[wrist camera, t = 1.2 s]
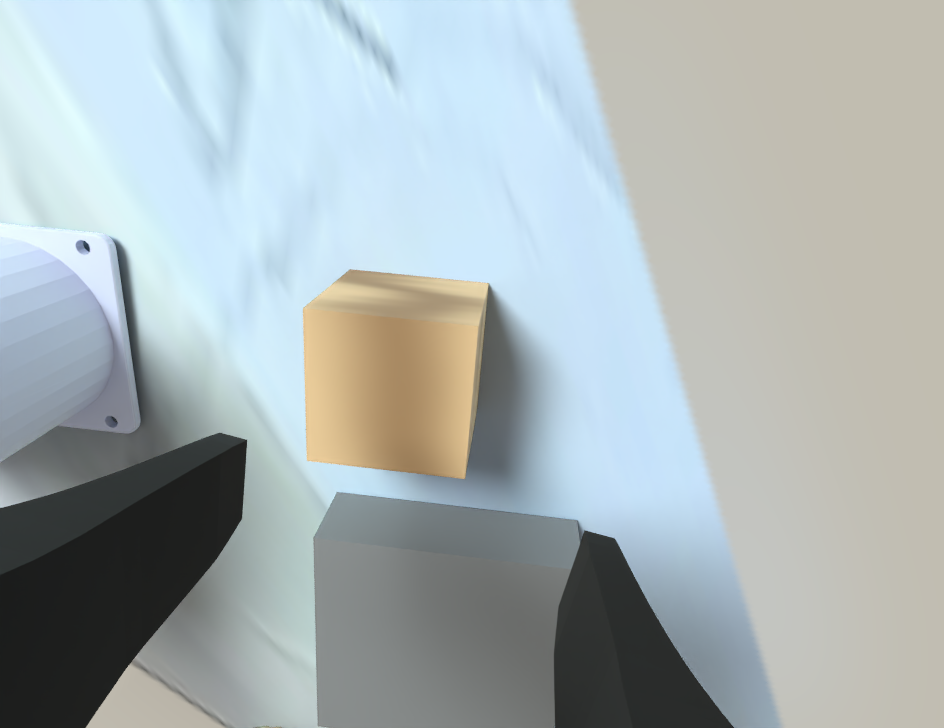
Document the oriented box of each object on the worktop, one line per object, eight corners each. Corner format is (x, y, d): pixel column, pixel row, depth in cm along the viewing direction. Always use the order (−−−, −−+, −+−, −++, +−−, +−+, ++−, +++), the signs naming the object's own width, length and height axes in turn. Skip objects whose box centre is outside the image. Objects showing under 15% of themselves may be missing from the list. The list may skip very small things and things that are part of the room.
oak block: (349, 394, 24) (307, 460, 19) (350, 268, 22) (303, 308, 17) (477, 408, 23) (464, 478, 19) (488, 282, 21) (478, 326, 17)
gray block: (337, 668, 29) (317, 726, 26) (337, 492, 25) (313, 538, 22) (546, 695, 28) (548, 757, 26) (577, 520, 25) (583, 570, 22)
